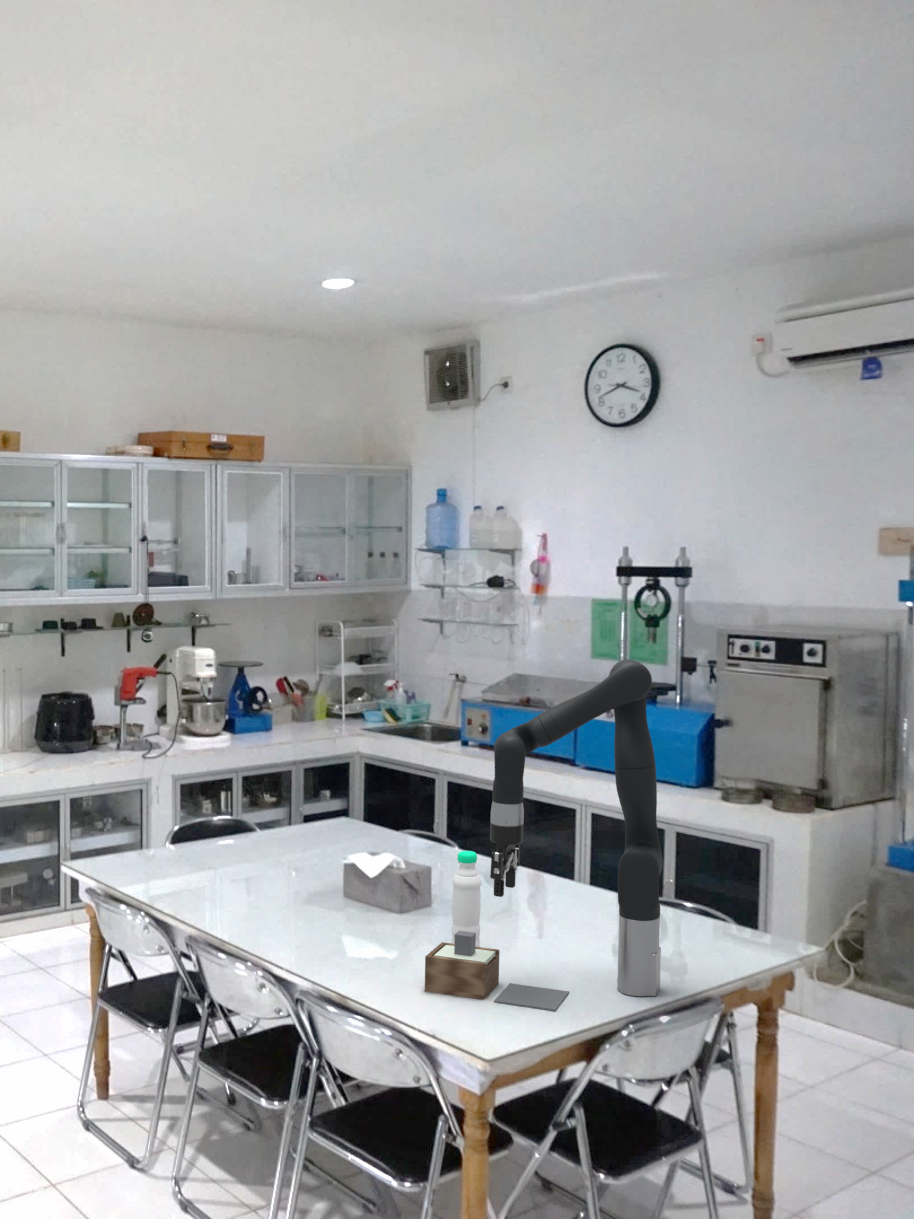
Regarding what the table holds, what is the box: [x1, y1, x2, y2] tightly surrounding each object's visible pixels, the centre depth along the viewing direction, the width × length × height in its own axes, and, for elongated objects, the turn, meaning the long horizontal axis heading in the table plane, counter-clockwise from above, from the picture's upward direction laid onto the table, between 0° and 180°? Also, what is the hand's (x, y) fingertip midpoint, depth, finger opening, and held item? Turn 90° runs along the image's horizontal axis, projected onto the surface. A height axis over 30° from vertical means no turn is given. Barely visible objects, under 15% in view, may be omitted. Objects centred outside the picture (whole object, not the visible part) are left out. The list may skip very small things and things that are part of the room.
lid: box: [434, 931, 495, 964], centre depth 277 cm, size 12×8×6 cm, turn 70°
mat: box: [493, 982, 570, 1012], centre depth 272 cm, size 14×12×1 cm
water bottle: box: [451, 850, 482, 947], centre depth 302 cm, size 7×7×25 cm
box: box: [424, 941, 500, 1001], centre depth 278 cm, size 14×11×8 cm
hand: (504, 891), depth 279 cm, fingers open, 8 cm apart
